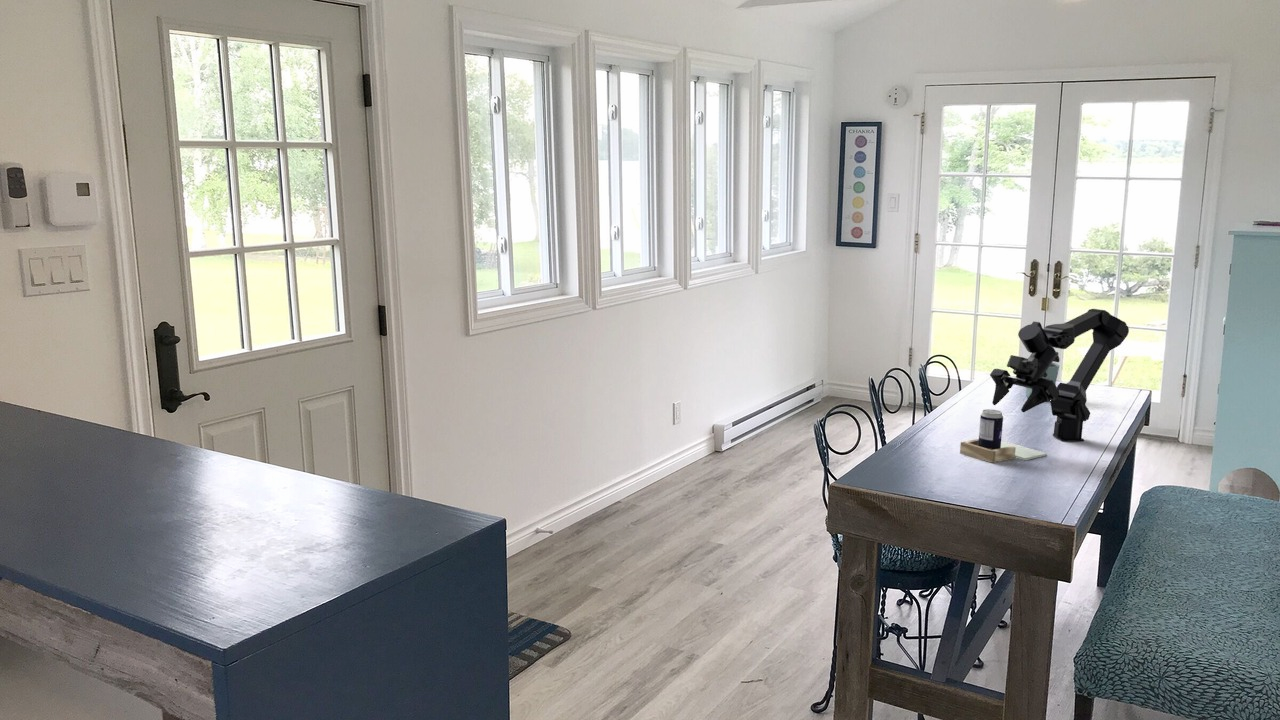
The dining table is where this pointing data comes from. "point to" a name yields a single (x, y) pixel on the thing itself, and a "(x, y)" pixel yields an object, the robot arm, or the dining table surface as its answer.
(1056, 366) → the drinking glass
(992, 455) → the frame
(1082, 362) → the robot arm
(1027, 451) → the sage pad
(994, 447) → the beverage can
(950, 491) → the dining table surface
